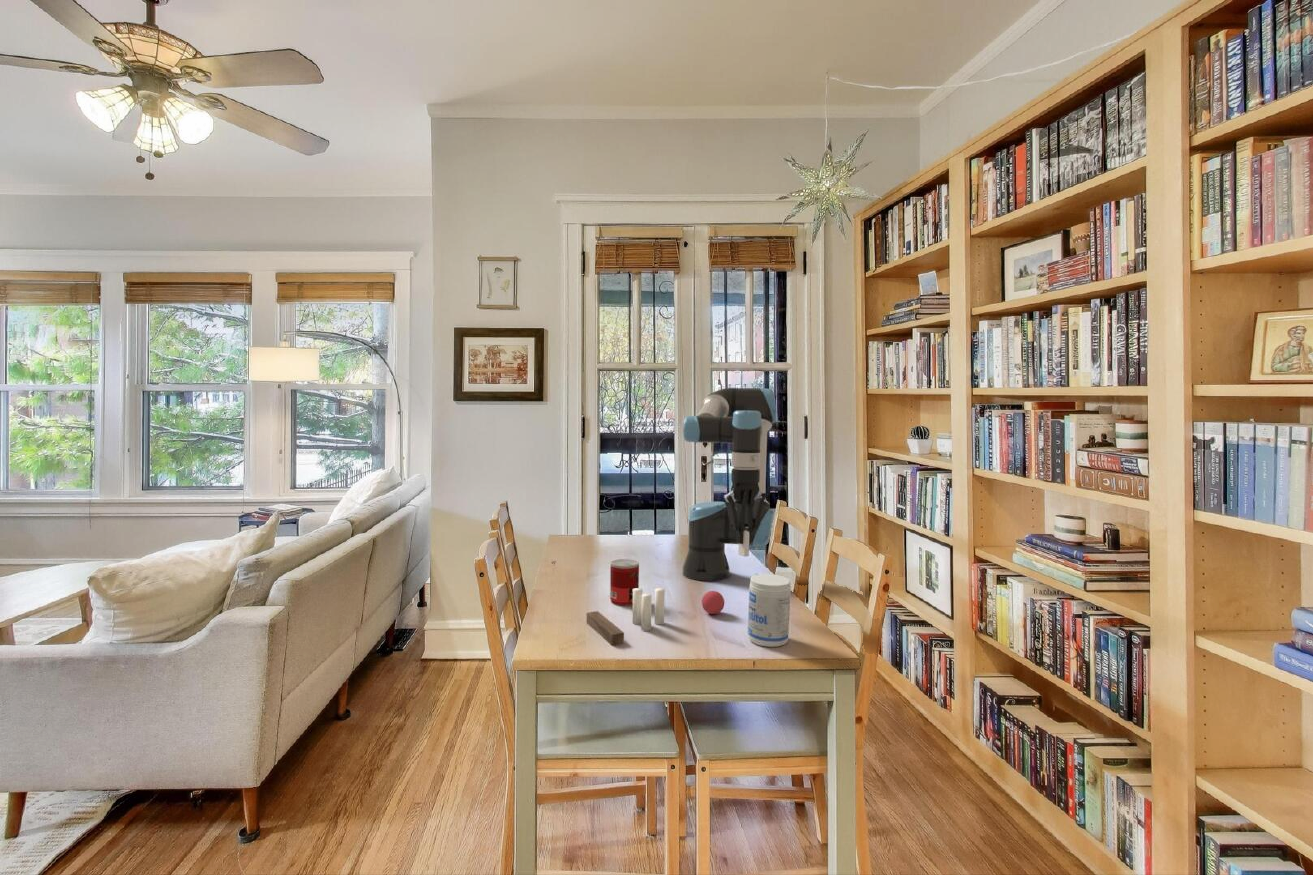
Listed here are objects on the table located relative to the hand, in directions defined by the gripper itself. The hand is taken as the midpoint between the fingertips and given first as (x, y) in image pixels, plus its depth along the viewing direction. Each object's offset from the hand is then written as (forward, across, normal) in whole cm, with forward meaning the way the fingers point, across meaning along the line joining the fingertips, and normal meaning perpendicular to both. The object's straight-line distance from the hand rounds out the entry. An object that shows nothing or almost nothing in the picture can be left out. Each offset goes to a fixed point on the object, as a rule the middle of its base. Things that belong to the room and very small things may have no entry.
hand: (743, 555), depth 168 cm
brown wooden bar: (+15, -40, 0) cm, 43 cm away
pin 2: (+15, -30, -2) cm, 34 cm away
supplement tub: (+15, -7, -21) cm, 27 cm away
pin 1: (+15, -30, +3) cm, 34 cm away
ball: (+12, -9, 0) cm, 15 cm away
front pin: (+15, -25, 0) cm, 29 cm away
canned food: (+15, -26, +19) cm, 36 cm away
